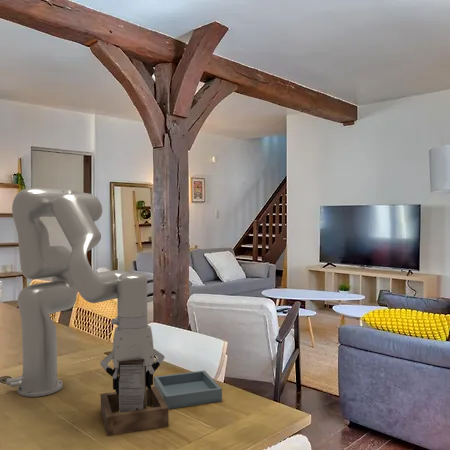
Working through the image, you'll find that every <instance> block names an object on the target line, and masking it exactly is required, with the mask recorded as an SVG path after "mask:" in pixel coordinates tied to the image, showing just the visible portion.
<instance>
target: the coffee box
mask: <svg viewBox="0 0 450 450" xmlns="http://www.w3.org/2000/svg"><path fill="white" fill-rule="evenodd" d="M118 376H119V410H118V413H120V412H127V411H134V410H140V409H147V408H148V406H147V386H146V367H145V360H144V359H141V360H128V361H120V362H119V375H118Z"/></svg>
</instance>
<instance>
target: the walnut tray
mask: <svg viewBox="0 0 450 450" xmlns="http://www.w3.org/2000/svg"><path fill="white" fill-rule="evenodd" d="M151 406H152V407H151ZM169 410H170V409H168V406H167V404H166V403H165V401H164V399H163V398H162V396H161V394H160V392H159V391H158V389H157V387H154V386H151V390H149V389H148V388H147V409H140V410H134V411H127V412H120V413H119V412H117V411H119V394H117V393H116V391H112V392H105V393H100V414H101V417H102V421H103V426H104V430H105V434H106V436H107V437H108V436H114V435H115V436H116V435H120V434H126V433H132V432H137V431H138V432H140V431H145V430H150V429H156V428H164V427H168V426H170V425H169V422H170V421H169V419H170V418H169V412H170V411H169ZM115 411H116V412H115Z"/></svg>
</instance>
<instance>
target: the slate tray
mask: <svg viewBox="0 0 450 450" xmlns="http://www.w3.org/2000/svg"><path fill="white" fill-rule="evenodd" d="M153 387H157V389H158V391H159V392H160V394H161V396H162V398H163V399H164V401H165V403H166V404H167V406H168V409H169V410H173V409H178V408H185V407H191V406H192V407H193V406H199V405H207V404H211V403H212V404H213V403H218V402H219V403H220V402H223V388H222V387H221V386H220V385H219V384H218V382H217V381H216V380H214V378H212V376H211V375H210V374H209V373H208V372H207V371H206V370H205V369H204V370H197V371H188V372H182V373H174V374H173V373H172V374H166V375H157V376H153Z"/></svg>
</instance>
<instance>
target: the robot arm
mask: <svg viewBox="0 0 450 450" xmlns="http://www.w3.org/2000/svg"><path fill="white" fill-rule="evenodd" d="M11 212H12V218H13V222H14V225H15V228H16V233H17V240H18V253H19V263H20V270H21V274H22V275H23V277H24V278H26V279H28V280H40V279H49V278H51V279H52V281H45V282H41V283H39V282H38V283H34V284H29V285H28V286H26V287H24V288H22V290H21V291H20V292H19V294H18V297H17V306H18V310H19V314H20V320H21V321H20V322H21V338H22V343H21V345H22V373H21V375H18V377H14V378H13V377H11V378H6V386H10V388H13V387H14V388H15V387H17V388H16V389H17V393H18V394H19V396H22V397H26V398H27V397H28V398H32V397H33V398H36V397H37V398H38V397H44V396H49V395H52V394H55V393H57V392H58V391H59V392H60V390H61V389H63V384H64V383H63V381H62V380H61V379H59V378H58V348H57V347H58V344H57V343H58V340H57V339H58V338H57V337H58V336H57V335H58V334H57V326H56V324H55V322H54V321H53V319H52V318H51V314H56V313H60V312H63V311H68V310H70V309H72V308H73V307H74V306H75V305H76V302H77V299H78V295H77V294H79V295H80V296H81V297H82V298H83V299H84V301H86V302H88V303H90V304H97V303H103V302H107V301H110V300H111V301H112V300H117V305H116V306H117V308H116V309H117V316H116V317H115V318H112V319H111V325H115V326H116V327H115V328H114V332H113V338H112V339H113V340H112V351H111V352H110V353H109V354H108V355H107V356H106V357H104V358H103V359H101V361H100V362H99V365H100V366H101V368H102V369H103V370H104V371H105V372H106V373H107V374H108V375H109V376H111V378H112V390H113V391H114V392H116V393H117V394H119V362H120V361H128V360H141V359H144V360H145V367H147V369H148V370H147V372H146V386H147V388H148V389H149V390H151V387H152V386H154V374H155V373H156V371H157V370H158V369H159V367H160V366H161V364H162V362H163V361H164V359H165V355H164V354H163V353H161V352H160V351H158V350H157V349H155V348H154V340H153V331H152V326H151V325H149V324H148V279H147V276H146V274H144V273H140V272H139V273H138V272H128V271H125V270H122V269H115V270H107V271H101V272H95V271H94V270H93V268H92V267H91V266H92V265H90V263H89V262H90V261H89V260H88V252H89V251H90V250H93V249H94V248H95V247H96V246H97V245H98V244H99V243H100V242H101V239H102V234H101V232H100V230H99V228H98V226H97V225H96V222H97V221H98V220H99V219H100V218H101V217H102V214H103V205H102V203H101V200H100V199H99V198H98V197H97V196H96V195H95V194H93V193H92V194H91V193H87V192H81V191H78V190H74V189H69V188H50V187H29V188H23V189H22V190H20V191H18V193H17V194H16V195H15V196H14V198H13V201H12V206H11ZM43 217H44V218H45V217H46V218H47V217H49V218H54V217H55V219H56V221H57V223H58V225H59V227H60V229H61V230H62V232H63V235H64V236H65V238H66V240H67V242H68V243H69V246H70V247H71V251H70V249H68V248H67V247H66V246H63V245H51V243H50V236H49V231H48V228H47V227H46V224H45V223H44V222H43V221H42V220H41V219H40V218H43ZM155 357H156V360H155ZM111 361H112V363H113V368H112V367H111V366H109V365H108V364H109V363H110V362H111Z"/></svg>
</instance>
